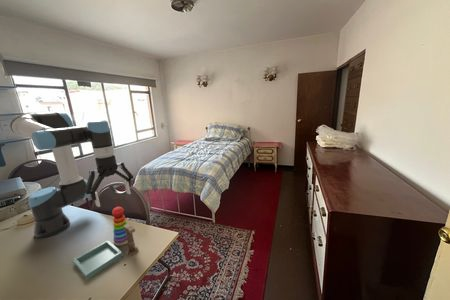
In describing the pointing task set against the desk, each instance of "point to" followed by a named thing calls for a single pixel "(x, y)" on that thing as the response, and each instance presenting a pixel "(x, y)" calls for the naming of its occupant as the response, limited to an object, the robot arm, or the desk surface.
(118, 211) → the stacking toy
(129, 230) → the tan tall figure
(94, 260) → the tray
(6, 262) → the desk surface
